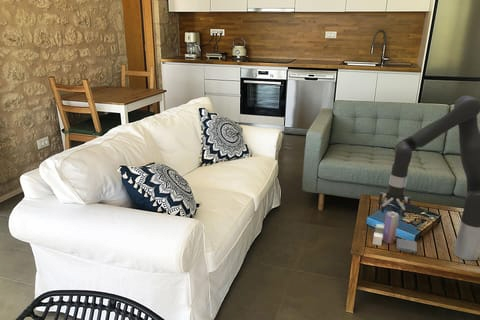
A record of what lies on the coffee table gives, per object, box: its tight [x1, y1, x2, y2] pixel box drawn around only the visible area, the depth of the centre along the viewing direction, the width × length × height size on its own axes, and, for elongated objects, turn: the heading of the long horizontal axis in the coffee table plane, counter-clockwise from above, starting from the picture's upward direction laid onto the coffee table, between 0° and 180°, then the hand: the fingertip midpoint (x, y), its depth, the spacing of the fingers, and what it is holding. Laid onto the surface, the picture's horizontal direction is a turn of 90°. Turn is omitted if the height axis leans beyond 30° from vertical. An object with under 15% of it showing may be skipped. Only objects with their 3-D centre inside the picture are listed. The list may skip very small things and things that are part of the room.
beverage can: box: [382, 210, 400, 244], centre depth 192 cm, size 6×6×15 cm
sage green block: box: [374, 223, 385, 234], centre depth 200 cm, size 4×4×4 cm
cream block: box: [372, 231, 383, 246], centre depth 191 cm, size 4×4×4 cm
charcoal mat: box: [396, 237, 418, 254], centre depth 189 cm, size 9×9×1 cm
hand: (391, 214), depth 190 cm, fingers open, 8 cm apart
